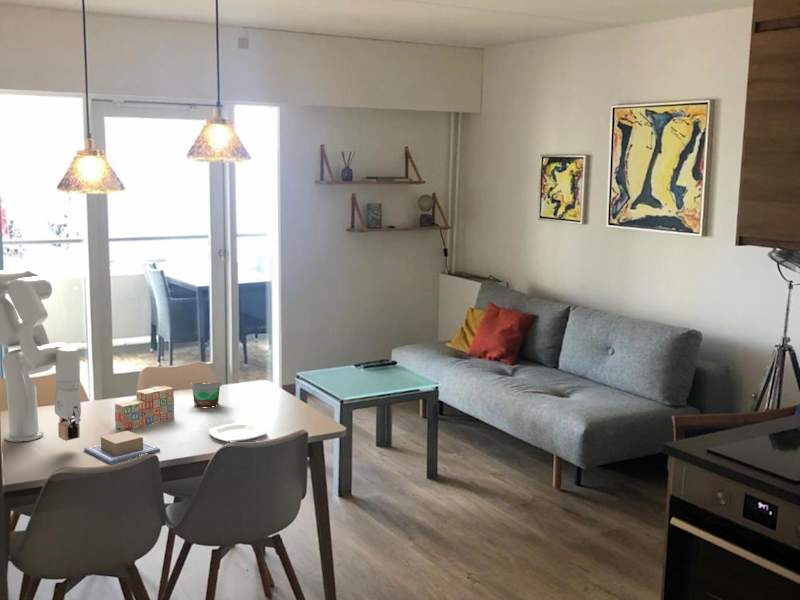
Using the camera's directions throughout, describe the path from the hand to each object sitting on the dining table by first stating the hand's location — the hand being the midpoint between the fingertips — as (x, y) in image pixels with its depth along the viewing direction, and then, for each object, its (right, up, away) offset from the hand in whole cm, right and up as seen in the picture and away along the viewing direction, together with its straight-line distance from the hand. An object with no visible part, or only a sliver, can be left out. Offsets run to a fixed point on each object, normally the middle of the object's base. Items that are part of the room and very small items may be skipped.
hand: (69, 435), depth 286 cm
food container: (+34, +2, +55) cm, 65 cm away
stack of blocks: (+16, -1, +33) cm, 36 cm away
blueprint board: (+18, -6, +1) cm, 19 cm away
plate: (+53, -4, +19) cm, 57 cm away
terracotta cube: (0, -1, 0) cm, 1 cm away
